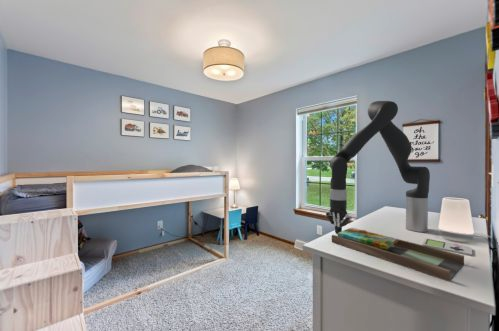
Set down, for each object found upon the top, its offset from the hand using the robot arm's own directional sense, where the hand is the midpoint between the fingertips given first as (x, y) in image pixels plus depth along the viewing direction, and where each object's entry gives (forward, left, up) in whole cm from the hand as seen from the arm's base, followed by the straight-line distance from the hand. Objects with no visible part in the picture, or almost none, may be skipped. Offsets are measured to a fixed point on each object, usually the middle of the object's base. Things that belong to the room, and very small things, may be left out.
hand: (338, 233), depth 106 cm
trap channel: (0, +23, -1) cm, 23 cm away
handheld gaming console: (-24, +35, -2) cm, 42 cm away
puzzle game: (+1, +14, -1) cm, 14 cm away
